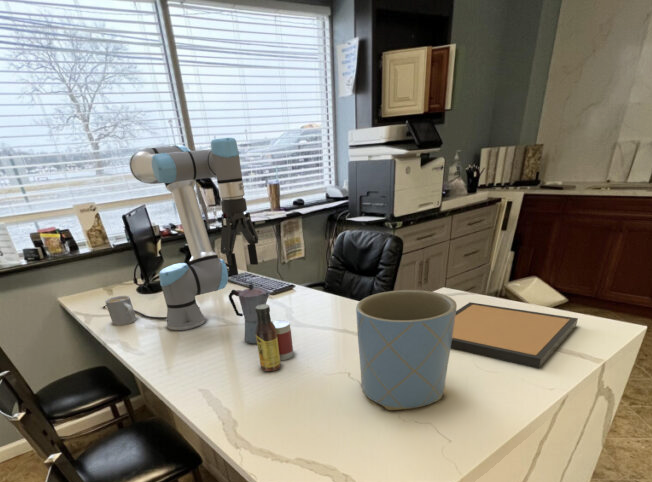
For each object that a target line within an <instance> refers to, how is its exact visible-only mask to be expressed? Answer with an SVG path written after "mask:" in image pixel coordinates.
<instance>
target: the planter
mask: <svg viewBox="0 0 652 482" xmlns="http://www.w3.org/2000/svg"><path fill="white" fill-rule="evenodd" d="M457 307H458V306H457V302H456V300H454V299H453V298H452V297H451V296H448V295H446V294H444V293H439V292H435V291H430V290H419V289H400V290H399V289H398V290H389V291H384V292H378V293H375V294H374V293H373V294H372V295H368V296H366V297H364V298H362V299H361V300H360V301H358V302H357V304H356V306H355V313H356V325H357V326H356V330H357V331H356V332H357V345H358V355H359V368H360V381H361V389H362V392H363V393H364V395H365V396H366V397H367V398H368V399H370V400H371V401H373V402H375V403H377V404H379V405H381V406H382V407H383V408H384V409H386V410H387V411H399V410H408V409H416V408H421V407H424V406H428V405H430V404H434V403H435V402H438V401H440V399H442V398H443V394H444V391H445V388H446V387H445V386H446V381H447V372H448V368H449V367H448V366H449V360H450V353H451V350H452V349H451V343H452V337H453V330H454V322H455V315H456V311H457Z"/></svg>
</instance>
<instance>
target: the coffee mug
mask: <svg viewBox="0 0 652 482" xmlns="http://www.w3.org/2000/svg"><path fill="white" fill-rule="evenodd" d="M105 305H107V307H106V308H107V311H108V314H109V317H110V319H111V322H112V325H114V326H125V325H129V324H131V323H134V322H136V320H137V316H136V312H134V310H135V309H134V307H133V303H132V301H131V297H130V295H117V296H113V297H110V298H107V299H105Z"/></svg>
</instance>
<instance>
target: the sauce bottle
mask: <svg viewBox="0 0 652 482" xmlns="http://www.w3.org/2000/svg"><path fill="white" fill-rule="evenodd" d="M255 309H256V313H257V318H258V323H257V328H256V333H255V334H256V340H257V343H256V346H257V352H258V353H257V354H258V359H259V364H260V367H261V369H262V371H264V372H275V371H277V370H279V369H280V367H281V360H280V355H279V347H278V339H277V334H276V328H275V325H274V324H273V323H272V322H273V321H272V318H271V313H270V312H271V308H270V305H269V304H267V303H266V304H261V305H258V306H256V307H255Z"/></svg>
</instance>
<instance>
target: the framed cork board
mask: <svg viewBox="0 0 652 482" xmlns="http://www.w3.org/2000/svg"><path fill="white" fill-rule="evenodd" d="M578 320H579V318H578V317H573V316H572V317H571V316H566V315H565V316H564V315H559V314H551V313H544V312H537V311H531V310H525V309H518V308H511V307H504V306H497V305H490V304H484V303H477V302H471V301H469V302H468V303H467V304H464V305H463V306H461V307H460V308H459V309H456V315H455V322H454V330H453V337H452V343H451V349H450V350H456V351H459V352H465V353H470V354H474V355H479V356H483V357H488V358H491V359H496V360H500V361H505V362H508V363H513V364H518V365H523V366H526V367H530V368H531V367H532V368H535V369H540V368H541V367H542V365H543V364H544V363H545V362H546V361H547V360H548V359H549V358H550V357H551V356H552V354H553V353H554V352H555V351H556V350H557V349H558V348H559V346H560V345H561V344H562V343H563V342H564V341H565V340H566V339H567V337H568V336H569V335H570V334H571V333H572V332H573V331H574V330H575V329H576V328H577V324H578Z"/></svg>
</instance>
